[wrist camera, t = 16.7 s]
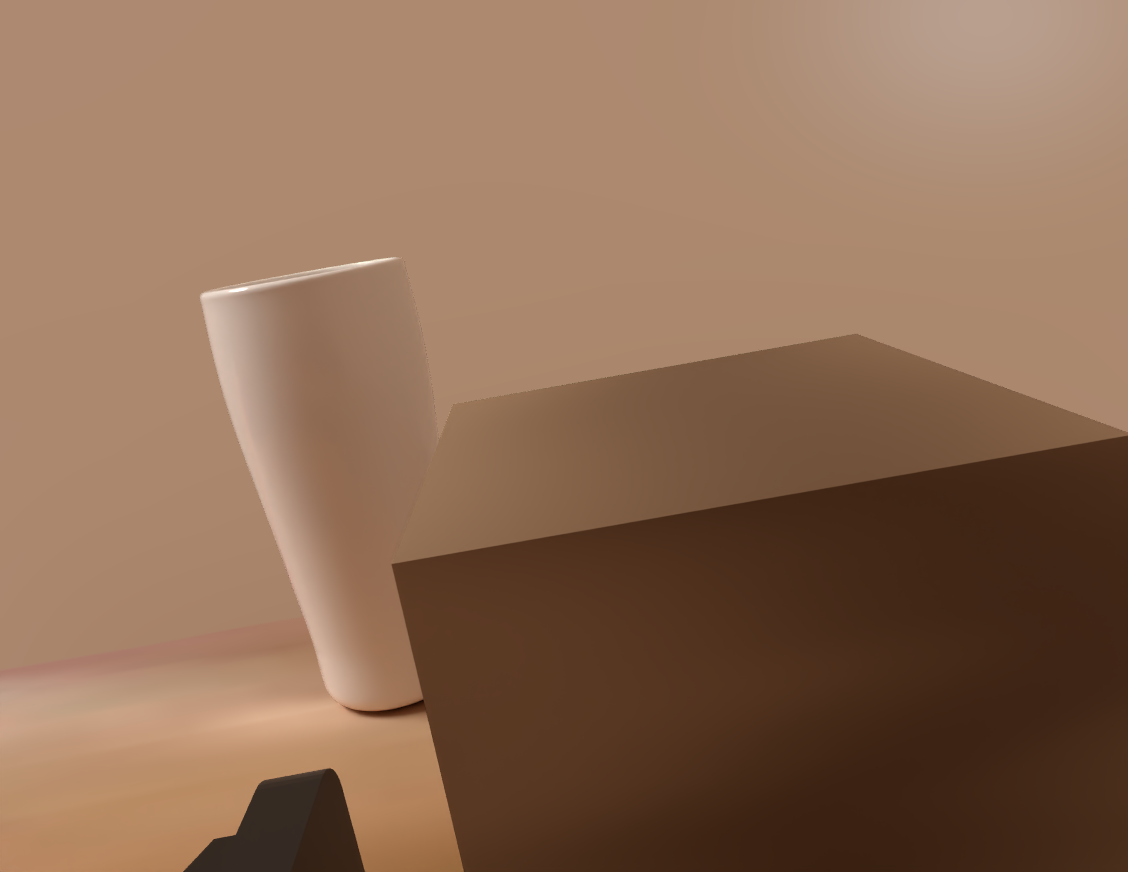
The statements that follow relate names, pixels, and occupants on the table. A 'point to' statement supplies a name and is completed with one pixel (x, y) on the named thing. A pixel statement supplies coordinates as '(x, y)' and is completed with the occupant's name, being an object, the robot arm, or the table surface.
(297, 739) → the table surface
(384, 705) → the drinking glass
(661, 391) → the tall brown pillar
